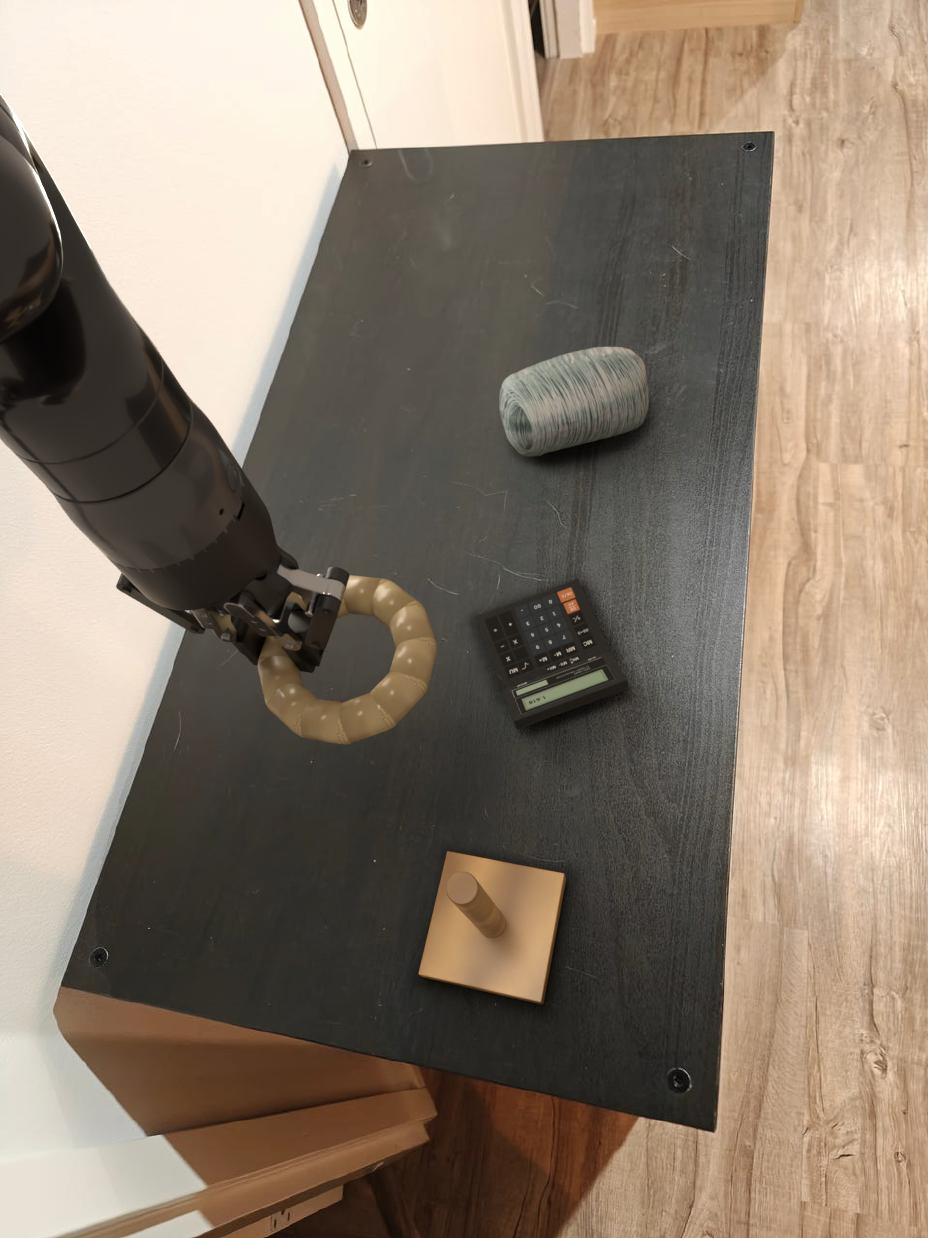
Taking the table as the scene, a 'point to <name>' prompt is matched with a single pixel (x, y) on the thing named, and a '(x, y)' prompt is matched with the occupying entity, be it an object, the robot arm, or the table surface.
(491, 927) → the wooden peg stand
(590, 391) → the spool
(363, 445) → the table surface
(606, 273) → the table surface
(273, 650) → the segmented beige ring
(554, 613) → the calculator
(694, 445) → the table surface
